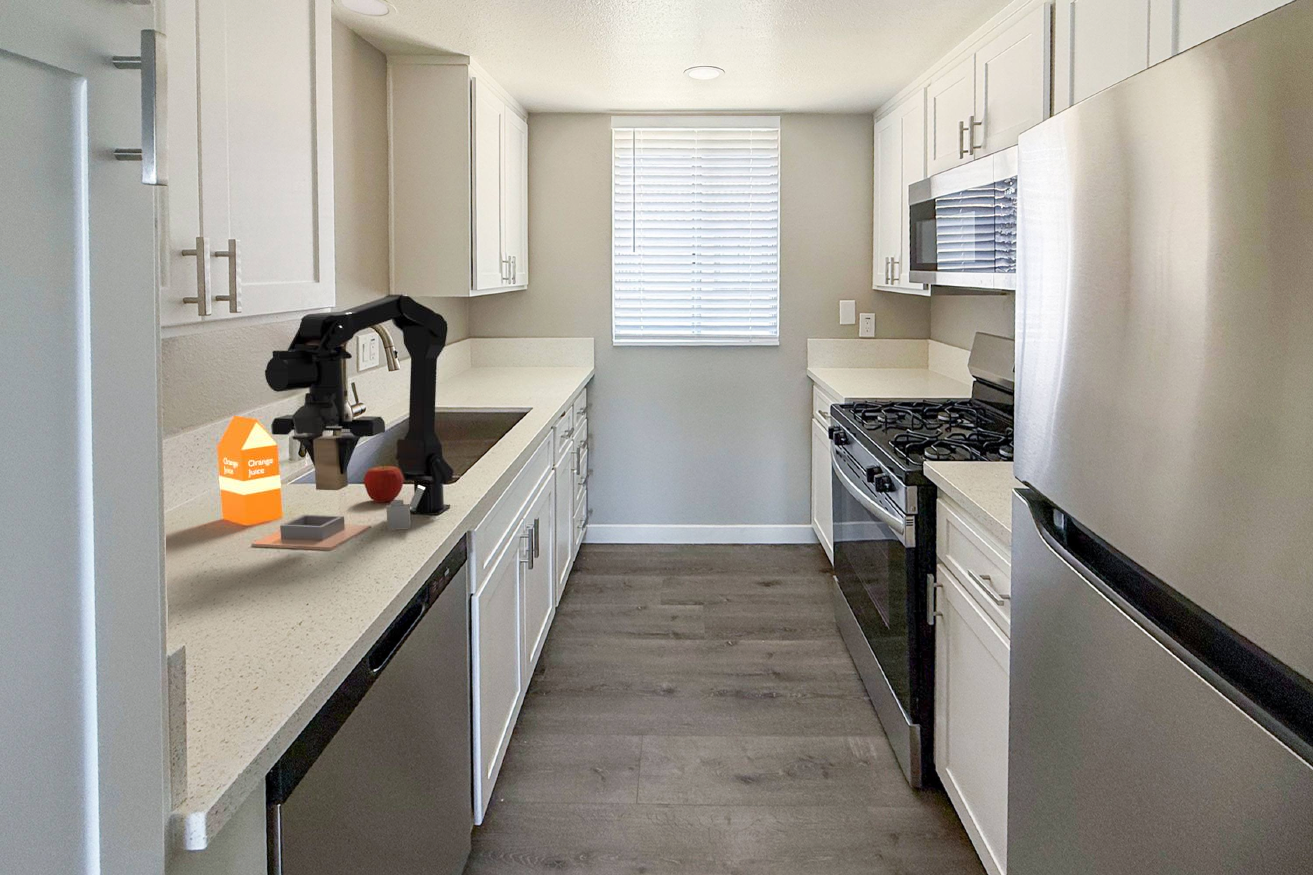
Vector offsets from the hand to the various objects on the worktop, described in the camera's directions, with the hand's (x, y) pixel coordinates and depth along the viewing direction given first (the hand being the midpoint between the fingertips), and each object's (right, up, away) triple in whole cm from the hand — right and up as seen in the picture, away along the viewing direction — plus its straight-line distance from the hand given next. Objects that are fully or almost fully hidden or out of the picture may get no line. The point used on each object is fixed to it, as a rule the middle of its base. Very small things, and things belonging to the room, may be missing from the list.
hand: (331, 473), depth 167 cm
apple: (0, -7, +32) cm, 33 cm away
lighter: (+11, -11, +10) cm, 18 cm away
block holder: (-4, -12, +4) cm, 13 cm away
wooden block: (0, -3, 0) cm, 3 cm away
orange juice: (-21, -10, +17) cm, 29 cm away
